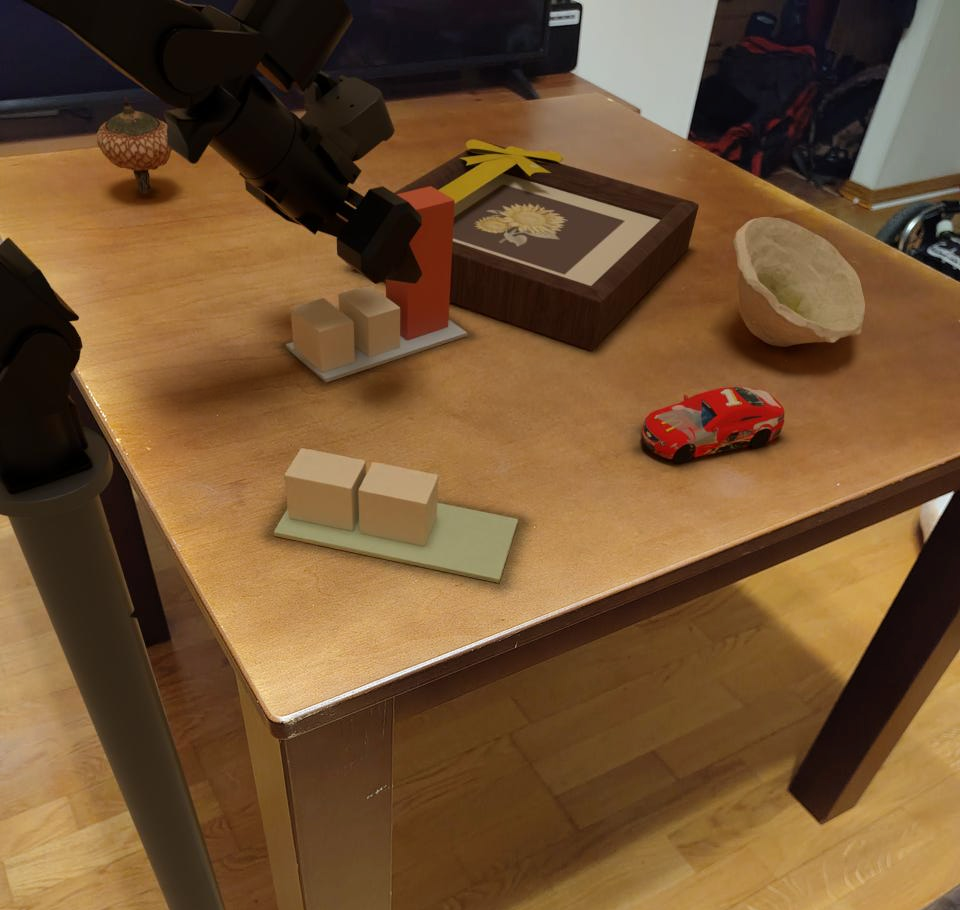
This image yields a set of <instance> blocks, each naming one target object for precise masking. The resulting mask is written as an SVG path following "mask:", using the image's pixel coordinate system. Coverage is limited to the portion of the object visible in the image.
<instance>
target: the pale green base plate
mask: <svg viewBox="0 0 960 910" xmlns="http://www.w3.org/2000/svg"><path fill="white" fill-rule="evenodd" d="M283 475H284V486H285V495H286V503H287V509H285V510H286V511H285V512H284V514H283V516H282V517H281V518H280V520H279V522H278V524H277V526H276V527H275V529H274V531H273V537H278V538H283V539H287V540H293V541H298V542H302V543H306V544H311V545H317V546H321V547H325V548H330V549H336V550H340V551H345V552H350V553H354V554H359V555H363V556H369V557H372V558H373V557H374V558H378V559H382V560H387V561H392V562H397V563H402V564H407V565H410V566H411V565H412V566H415V567H421V568H426V569H431V570H435V571H439V572H445V573H449V574H455V575H460V576H463V577H468V578H473V579H479V580H483V581H488V582H492V583H496V584H497V583H498V584H499V583H501V578H502V575H503V573H504V569H505V567H506V563H507V559H508V557H509V552H510V549H511V547H512V542H513V539H514V537H515V534H516V531H517V527H518V524H519V518H515V517H511V516H506V515H501V514H495V513H490V512H485V511H482V510H481V511H480V510H476V509H471V508H465V507H462V506H456V505H452V504H448V503H447V504H446V503H441V502H439V501H438V499H439V480H440V475H439V474H435V473H432V472H425V471H421V470H416V469H412V468H411V469H410V468H406V467H400V466H395V465H391V464H387V463H382V462H376V461H372V463H371V465H370V467H369V469H368V471H367V461H366V460H365V459H360V458H354V457H351V456H345V455H340V454H335V453H330V452H325V451H321V450H320V451H319V450H316V449H310V448H306V447H301V448H300V449H299V451H298V452H297V454H296V456H295V457H294V459H293V461H292V462H291V463H290V465H289V467H288V468H287V470H286V471H285V473H284V474H283Z"/></svg>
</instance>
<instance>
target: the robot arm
mask: <svg viewBox="0 0 960 910" xmlns="http://www.w3.org/2000/svg"><path fill="white" fill-rule="evenodd" d="M22 1H23V2H24V3H27V4H28V5H30V6H31V7H33V8H35V9H37V10H39V11H40V12H42V13H44V14H46V15H47V16H49V17H51V18H53V19H54V20H55V21H57V22H58V23H60V25H62V26H63V27H64V28H65V29H67V30H68V31H69V32H71V34H73V35H74V36H75V37H76V38H77V39H78V40H80V41H81V42H82V43H84V44H85V45H86V46H87V47H88V48H89V49H91V50H92V51H93V52H94V53H96V54H97V55H98V56H100V57H101V58H102V59H103V60H105V61H106V62H107V63H109V64H110V65H111V66H112V67H114V68H115V69H116V70H117V71H118V72H119V73H121V74H123V75H124V76H126V77H127V78H128V79H129V80H131V81H132V82H134V83H135V84H137V85H138V86H140V87H141V88H143V89H144V90H146V91H147V92H149V93H150V94H151V95H153V96H154V97H156V98H157V99H159V100H160V101H162V102H163V103H165V104H166V105H168V106H171V107H174V108H175V109H166V110H165V111H164V113H163V117H164V119H165V123H166V124H167V144H168V146H169V147H170V148H171V149H172V151H174V152H175V153H176V154H178V155H179V156H180V157H182V158H183V159H185V160H186V161H187V162H189V163H190V164H192V165H195V164H197V163H198V162H199V161H200V159H201V158H202V156H203V155H204V153H205V152H206V150H207V148H208V146H209V147H210V148H211V149H212V150H213V151H215V152H216V154H218V155H219V156H221V158H223V159H224V160H225V161H226V162H227V163H228V164H230V166H232V167H233V168H234V169H235V170H237V171H238V172H239V173H238V175H239V176H240V177H241V178H242V179H244V187H245V191H246V192H247V193H248V194H250V195H251V196H252V197H253V198H255V199H256V200H257V201H258V202H259V203H261V204H262V205H263V206H264V207H266V208H268V209H269V210H270V211H272V213H275V214H277V215H278V216H280V217H281V218H282V219H284V220H285V221H287V222H290V223H293V224H295V225H299V226H300V227H303V228H304V229H306V230H307V231H309V232H310V233H311V234H313V235H314V236H315V235H317V233H318V232H320V233H323V234H326V235H329V236H332V237H335V238H336V255H337V256H338V257H339V258H340V259H341V260H343V261H344V262H345V263H346V264H347V265H349V266H350V268H352V269H354V270H355V271H356V272H357V273H359V274H360V275H362V276H363V277H364V278H365V279H367V280H368V281H370V282H372V283H373V284H374V285H377V284H380V283H382V282H385V281H386V280H391V281H399V282H405V283H412V284H416V283H417V282H418V280H419V279H420V277H421V276H422V271H421V269H420V267H419V264H418V262H417V260H416V258H415V256H414V253H413V251H412V249H411V247H410V244H409V243H410V242H411V240H412V239H413V237H414V236H415V234H416V233H417V231H418V230H419V228H420V227H421V225H422V216H421V215H420V214H419V213H418V212H417V210H416V209H415V208H414V207H413V206H412V205H411V204H410V203H409V202H408V201H406V200H405V199H403V198H401V197H400V196H398V195H397V194H395V192H393V191H391V190H390V189H388V188H387V187H385V186H384V185H383V186H382V185H381V186H377V187H372V188H369V189H368V190H367V191H366V193H365V195H362V194H361V193H359V192H358V191H356V190H355V189H353V188H352V187H350V186H349V185H354V184H355V183H356V181H357V179H358V178H359V176H360V175H361V174H362V171H363V170H362V169H361V168H359V166H358V165H357V164H356V163H355V162H357V161H359V160H361V159H362V158H364V157H365V156H366V155H367V154H369V153H370V152H371V151H372V150H373V149H375V148H376V147H377V146H379V145H380V144H381V143H382V142H387V141H389V140H390V139H391V138H392V137H393V136H394V134H395V131H396V130H395V127H394V123H393V121H392V118H391V116H390V113H389V109H388V106H387V105H386V102H385V99H384V97H383V93H382V91H381V89H379V88H378V87H375V86H373V85H372V84H370V83H368V82H367V81H364V80H362V79H360V78H358V77H354V76H352V77H346V76H345V75H343V74H341V75H340V76H338V80H339V82H338V81H337V80H335V79H334V77H332V76H331V75H330V74H329V73H326V72H324V71H322V69H323V68H324V65H325V64H326V63H327V61H328V59H329V58H330V57H331V54H332V53H333V51H334V50H335V48H336V46H337V45H338V44H339V42H340V41H341V39H342V37H343V36H344V34H345V33H346V31H347V29H348V28H349V27H350V25H351V23H352V21H353V20H354V17H353V14H352V12H351V10H350V8H349V6H348V5H347V3H346V2H345V1H344V0H238V1H237V2H236V4H235V6H234V7H233V9H232V11H231V12H230V15H229V14H227V13H225V12H223V11H221V10H220V9H218V8H216V7H214V6H212V5H210V4H195V3H186V2H184V1H182V0H22ZM255 70H257V71H258V72H259V73H260V74H261V75H262V76H264V78H266V79H267V80H268V81H270V82H271V83H272V84H273V85H274V86H275V87H277V88H278V89H280V90H281V91H283V92H285V93H289V92H290V90H291V89H292V87H293V86H295V87H296V88H297V89H298V90H299V91H300V92H302V93H303V99H304V100H303V102H304V105H303V107H304V109H305V113H304V114H303V115H302V116H301V117H299V116H298V115H297V114H296V113H294V112H293V111H291V110H290V109H289V108H288V107H287V106H285V104H284V103H283V102H282V101H281V100H280V99H279V98H278V97H277V96H276V95H275V94H274V93H273V92H272V91H271V90H270V89H269V88H268V87H267V86H266V84H264V83H263V82H262V81H261V80H260V79H259V78H258V77H257V76H256V75H255V73H254V71H255ZM292 84H293V85H292ZM79 320H80V316H79V315H78V314H77V312H76V311H74V310H73V309H72V307H71V306H69V304H68V303H67V302H66V301H65V300H64V299H63V298H62V297H61V296H60V294H58V292H56V291H55V290H54V288H53V287H52V286H51V284H50V283H49V281H48V280H47V278H46V276H45V275H44V273H43V272H42V269H40V268H39V267H38V266H37V265H36V264H35V263H34V262H33V260H32V259H30V258H29V256H27V255H26V253H25V252H24V251H23V250H22V249H20V247H19V246H18V245H17V244H16V243H15V242H14V241H13V240H12V239H11V238H10V237H6V238H5V239H4V240H3V241H2V242H1V243H0V481H1V483H2V484H3V486H4V487H5V489H6V490H7V492H8V493H9V494H18V493H21V492H23V491H26V490H29V489H32V488H35V487H38V486H41V485H44V484H47V483H50V482H53V481H56V480H59V479H62V478H65V477H68V476H71V475H74V474H77V473H80V472H83V471H86V470H89V469H91V468H92V467H93V464H92V460H91V459H90V458H89V456H88V455H87V454H86V453H85V451H84V450H85V449H87V448H88V446H89V445H88V442H87V439H86V435H85V432H84V429H83V427H84V425H83V422H82V419H81V415H80V412H79V408H78V405H77V404H76V402H75V401H74V400H73V399H72V397H71V396H70V383H71V375H72V373H73V372H74V371H75V369H76V367H77V365H78V363H79V361H80V360H81V359H80V358H81V351H82V349H83V347H84V346H83V341H82V337H81V336H80V334H79V332H78V330H77V329H76V327H75V326H74V325H73V324H72V322H77V321H79Z"/></svg>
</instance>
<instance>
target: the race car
mask: <svg viewBox="0 0 960 910" xmlns="http://www.w3.org/2000/svg"><path fill="white" fill-rule="evenodd" d="M785 413H786V412H785V409H784V406H783V405H782V404H781V403H780V402H779V401H778V400H777V399H776V398H775V397H774V396H773V395H771V394H770V393H769V392H768V391H765V390H762V389H758V388H751V387H750V388H749V387H746V386H730V387H729V386H727V387H720V388H716V389H710V390H706V391H704V392H700V393H697V394H694V395H692V396H691V397H689V396H688V395H687V394H683V400H682V401H680V402H677V403H674V404H671V405H668V406H665V407H662V408H658V409H656V410H653V411H651V412H650V413H649V414H647V416H646V417H645V418H644V420H643V424H642V428H641V432H640V438H641V441H642V443H643V444H644V446H645V447H646V448H647V449H649V450H650V451H651V452H653V453H654V454H656V455H658V456H660V457H662V458H665V459H668V460H673V461H674V462H676V463H677V464H684V463H686V462H687V461H689V460H690V459H691V458H692V457H694V458H697V457H703V456H707V455H713V454H717V453H721V452H722V453H723V452H727V451H732V450H736V449H742V448H746V447H751V448H754V449H756V448H760V447H762V446H763V445H765V443H766V442H767V441H769V442H771V441H773V440H774V439H776V438H777V437H779V435H780V434H781V432H782V430H783V427H784V424H785Z"/></svg>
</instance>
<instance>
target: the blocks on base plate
mask: <svg viewBox="0 0 960 910" xmlns="http://www.w3.org/2000/svg"><path fill="white" fill-rule="evenodd" d="M337 295H338V308H337V307H336V306H334V305H333V304H332V303H331V302H329V301H328V300H327V299H326V298H325V297H323V298H319V299H316V300H312V301H309V302H304V303H301V304H298V305H294V306H291V307H290V318H291V319H290V320H291V331H292V342H288V343H286V344H285V348H286V349H287V350H288V351H289V352H290V353H291V354H292V355H294V356H295V357H296V358H297V359H298V360H299V361H300V362H302V363H303V364H304V365H305V366H306V367H307V368H308V369H309V370H311V371H312V372H313V373H314V374H315V375H316V376H318V377H319V378H320V379H321V380H322V381H323V382H325V383H330V382H332V381H335V380H338V379H341V378H345V377H348V376H351V375H354V374H357V373H359V372H363V371H367V370H368V369H373V368H376V367H378V366H381V365H384V364H387V363H390V362H393V361H396V360H399V359H402V358H405V357H408V356H412V355H415V354H418V353H420V352H423V351H426V350H429V349H433V348H435V347H438V346H441V345H444V344H447V343H451V342H453V341H456V340H460V339H463V338H465V337H468V332H467V331H466V330H464V329H463V328H462V327H460V326H459V325H458V324H456V323H454V322H453V321H452V320H450V319H449V322H448V327H446V328H443V329H440V330H437V331H434V332H431V333H428V334H425V335H422V336H419V337H416V338H413V339H410V340H406V339H405V338H403V337H402V336H400V307H399V306H397V305H396V304H395V303H393V302H392V301H390V300H389V299H388V298H386V295H384V294H383V293H381V291H379V290H377V289H376V288H374V287H373V286H372V285H366V286H362V287H359V288H355V289H351V290H348V291H344V292H341V293H338V294H337Z"/></svg>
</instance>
